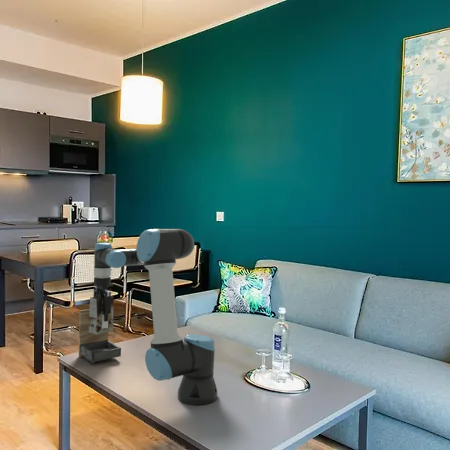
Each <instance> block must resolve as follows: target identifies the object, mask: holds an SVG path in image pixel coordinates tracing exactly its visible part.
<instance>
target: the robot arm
mask: <svg viewBox="0 0 450 450" xmlns="http://www.w3.org/2000/svg"><path fill="white" fill-rule="evenodd" d="M194 249H195V241H194V237H193V235H192V234H190V233H189V232H188V231H187V230H185V229H181V228H153V229H152V228H151V229H145V230H144V231H143V232H141V233H140V235H139V238H138V240H137V242H136V248H130V249H129V248H127V249H126V248H125V249H113V247H112V243H109V242H97V243H95V245H94V250H93V252H94V256H93V257H94V258H93V259H94V260H93V262H94V263H93V264H94V267H93V296H92V297H100V298H101V299H103V298H104V301H103V313H102V329H104V328H108V314H109V313H111V295H112V292H111V291H109V286H111V284H112V278H111V276H112V271H113V269H119V268H122V267H128V266H144V268H145V269H146V270H148V276H149V277H148V278H149V288H150V289H149V290H150V300H151V310H152V311H151V312H152V313H151V314H152V324H153V336H154V337H153V339H152V340H151V341H150V347H149V348H148V349H147V350H146V351H145V356H144V361H145V366H146V368H147V371H148V373H149V374H150V376H151V378H153V379H154V380H156V381H158V382H159V381H166V380H171V379H174V378H178V377H181V381H180V384H179V387H178V389H177V399H179V401H180V402H182V403H183V404H188V405H192V406H203V405H208V404H211V403H213V402H215V401H216V400H217V399H218V388H217V385H216V382H215V377H214V368H215V367H214V366H215V352H216V349H215V340H213V338H211V337H209V336H206V335H202V334H186V335H185V336H184V338H183V337H182V336H181V335H180V334H179V330H178V319H177V310H176V309H177V308H176V296H175V294H176V293H175V286H174V285H175V283H174V273H173V268H174V267H175V265H177V263H176V262H177V261H176V260H181V259H185V258H187V257H189V256H190V255H191V254H192V253H193V251H194Z"/></svg>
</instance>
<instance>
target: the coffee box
mask: <svg viewBox="0 0 450 450" xmlns="http://www.w3.org/2000/svg"><path fill="white" fill-rule="evenodd" d="M103 301H104V298H103V299H101V298H100V297H93V296H91V297H90V298H89V309H90V314H89V332H91V333H94V334H96V335H97V334H101V333H105V332H108V333H109V332H113V331H114V304H115V303H114V302H115V297H114V296H111V313H109V314H108V328H104V329H102V313H103Z"/></svg>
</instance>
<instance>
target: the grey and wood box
mask: <svg viewBox="0 0 450 450" xmlns="http://www.w3.org/2000/svg"><path fill="white" fill-rule="evenodd" d="M89 314H90V308H89V309H82V310H81V309H80V310H79V319H78V320H79V321H78V323H79V324H78V329H79V330H78V358H85V359H86V360H87V361H88V362H90V363H91V364H95V362H99V361H104V360H109V359H110V360H113V359H114V358H118V357H119V358H120V357H121V356H122V348H121V346H119V345H117V344H115V343H113V342H112V341H110V340H109V332H105V333H101V334H97V335H96V334H94V333H91V332H89Z"/></svg>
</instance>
